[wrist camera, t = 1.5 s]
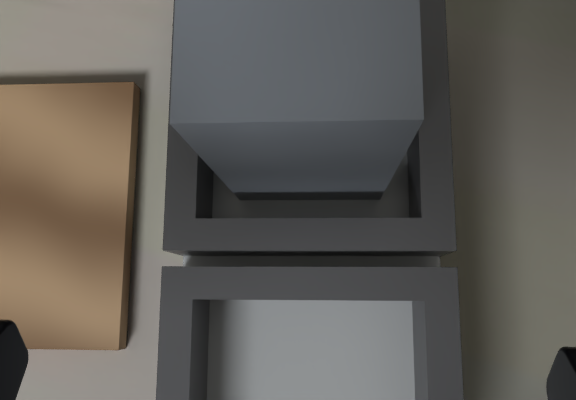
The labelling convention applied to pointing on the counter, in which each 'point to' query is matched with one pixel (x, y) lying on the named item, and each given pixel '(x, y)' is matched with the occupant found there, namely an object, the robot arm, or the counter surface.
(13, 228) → the walnut board
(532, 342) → the counter surface
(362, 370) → the power strip
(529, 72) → the counter surface
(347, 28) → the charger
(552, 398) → the robot arm
